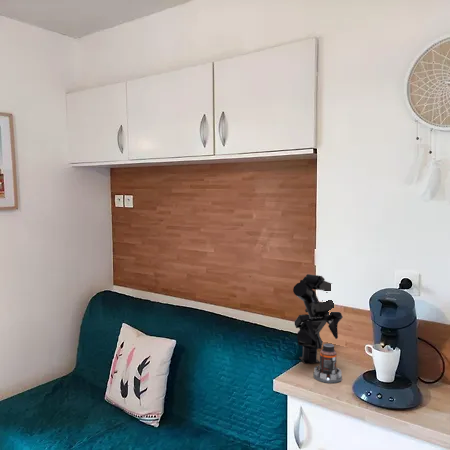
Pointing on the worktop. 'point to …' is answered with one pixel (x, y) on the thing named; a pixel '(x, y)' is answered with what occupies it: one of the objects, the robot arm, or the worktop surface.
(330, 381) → the ring collar
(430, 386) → the worktop surface
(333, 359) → the supplement bottle
